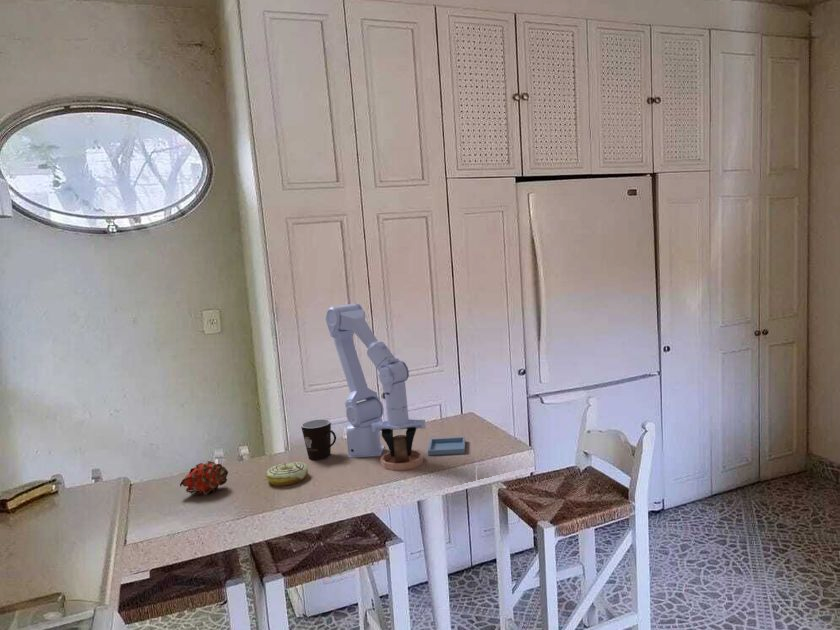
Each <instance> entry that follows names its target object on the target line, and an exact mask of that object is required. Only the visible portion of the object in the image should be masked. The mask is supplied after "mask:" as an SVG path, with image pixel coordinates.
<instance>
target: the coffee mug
mask: <svg viewBox="0 0 840 630" xmlns="http://www.w3.org/2000/svg"><path fill="white" fill-rule="evenodd" d="M331 424H332V421H331V420H330V419H325V418H320V419H319V418H318V419H317V418H316V419H312V420H308V421H307V420H306V422H303V423H301V424H300V426H301V431H302V435H303V436H302V437H303V439H304V445H305V448H306V452H307V457H308V459H309V461H323V460H326V459H328V458H329V457H331V455H332V454H331V452H332V451H331V448H332V447H333V445H335V443H336V442H337V441H336V440H337V436H336V433H335V432H334V431H333V430H332V425H331ZM331 434H332V435H333V440H332V442H331V439H332V438H331Z"/></svg>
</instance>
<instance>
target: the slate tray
mask: <svg viewBox="0 0 840 630" xmlns="http://www.w3.org/2000/svg"><path fill="white" fill-rule="evenodd" d="M465 454H466V436H456V437H441V438H440V437H438V438H437V437H436V438H430V439H429V443H428V447H427V455H428V456H429V457H431V456H434V457H435V456H449V455H465Z"/></svg>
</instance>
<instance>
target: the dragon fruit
mask: <svg viewBox="0 0 840 630" xmlns="http://www.w3.org/2000/svg"><path fill="white" fill-rule="evenodd" d="M228 474H229V471H228V470H227V468H226V467H224V466H223V465H222V464H221V463H215V462H213V461H211V460H207V461H206V463H201V462H200V463H197V464H196V465H195V467H192V468H191V469H190V470H189V473H188V474H186V475H185V477H184V478H183V479H182V480H181V482H180V483H179V486H180V488H181V487H182V486H183V487H184V488H185V487H187V488H185V491H186V493H189V494H195V492H196V493H197V494H203V495H205V496H207V494H209V493H210V492H216V491H218V490H219V486H223V485H224V484H227V482H228V478H227V477H228Z"/></svg>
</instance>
